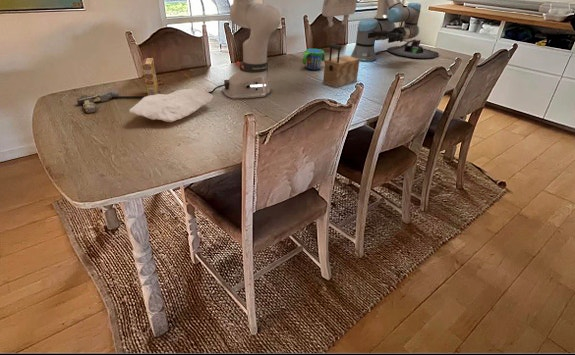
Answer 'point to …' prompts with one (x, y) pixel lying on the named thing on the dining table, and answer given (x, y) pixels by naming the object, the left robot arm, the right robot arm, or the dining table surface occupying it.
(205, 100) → the crumpled cloth
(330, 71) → the chest
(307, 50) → the snack cup
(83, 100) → the handgun
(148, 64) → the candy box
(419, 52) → the dark round disc
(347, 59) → the lid
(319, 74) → the dining table surface
